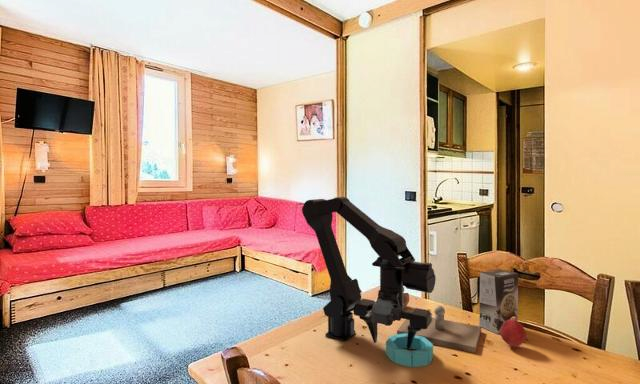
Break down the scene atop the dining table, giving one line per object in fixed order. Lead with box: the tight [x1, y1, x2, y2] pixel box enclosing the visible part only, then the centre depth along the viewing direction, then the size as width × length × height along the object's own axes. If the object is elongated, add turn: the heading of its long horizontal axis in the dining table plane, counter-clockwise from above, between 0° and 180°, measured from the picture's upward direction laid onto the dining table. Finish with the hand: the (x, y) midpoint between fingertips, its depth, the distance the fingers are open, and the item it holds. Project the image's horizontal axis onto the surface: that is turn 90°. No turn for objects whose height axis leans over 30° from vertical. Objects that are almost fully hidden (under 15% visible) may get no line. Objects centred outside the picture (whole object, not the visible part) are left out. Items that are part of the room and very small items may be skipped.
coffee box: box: [478, 268, 519, 335], centre depth 102 cm, size 9×6×16 cm
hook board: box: [396, 305, 482, 354], centre depth 98 cm, size 20×14×8 cm
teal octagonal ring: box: [385, 333, 434, 368], centre depth 87 cm, size 11×11×3 cm
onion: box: [499, 317, 527, 349], centre depth 90 cm, size 6×6×8 cm
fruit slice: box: [403, 292, 410, 308], centre depth 119 cm, size 8×7×5 cm
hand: (391, 346), depth 89 cm, fingers open, 8 cm apart
